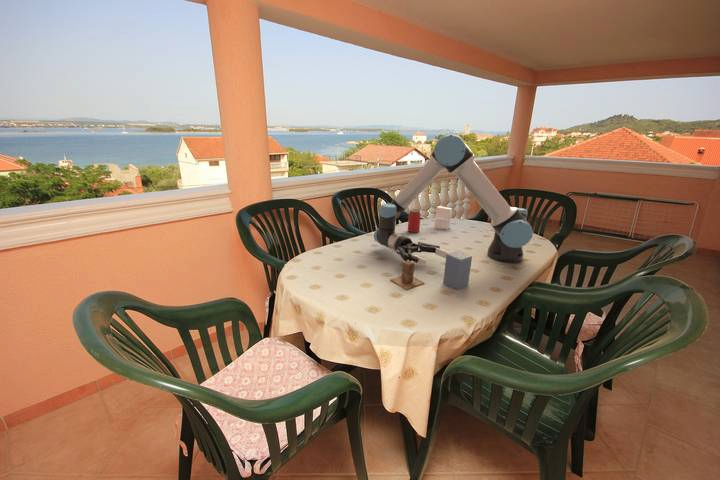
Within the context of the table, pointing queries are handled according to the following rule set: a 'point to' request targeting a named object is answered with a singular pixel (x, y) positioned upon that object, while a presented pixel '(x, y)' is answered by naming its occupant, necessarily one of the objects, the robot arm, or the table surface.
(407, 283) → the post
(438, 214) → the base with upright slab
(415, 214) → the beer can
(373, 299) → the table surface
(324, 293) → the table surface
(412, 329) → the table surface
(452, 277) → the notched grey prism
